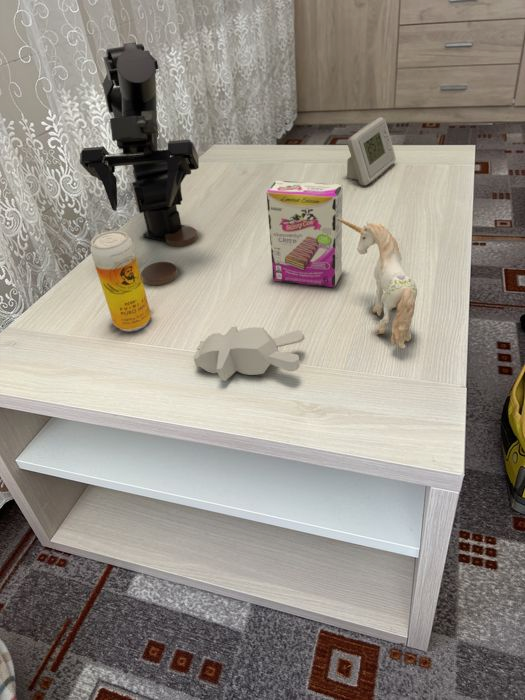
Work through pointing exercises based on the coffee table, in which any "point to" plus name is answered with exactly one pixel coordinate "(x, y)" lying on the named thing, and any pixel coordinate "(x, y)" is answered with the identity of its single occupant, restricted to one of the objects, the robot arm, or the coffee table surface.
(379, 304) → the unicorn figurine
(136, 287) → the beer can
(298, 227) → the candy bar box
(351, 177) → the digital clock
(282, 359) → the bunny figurine
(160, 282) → the coaster near
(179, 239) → the coaster far
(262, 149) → the coffee table surface
